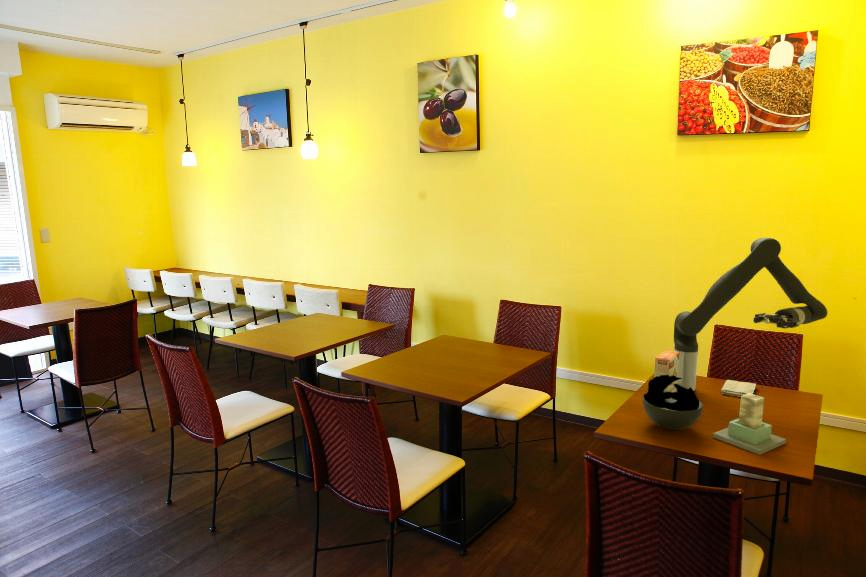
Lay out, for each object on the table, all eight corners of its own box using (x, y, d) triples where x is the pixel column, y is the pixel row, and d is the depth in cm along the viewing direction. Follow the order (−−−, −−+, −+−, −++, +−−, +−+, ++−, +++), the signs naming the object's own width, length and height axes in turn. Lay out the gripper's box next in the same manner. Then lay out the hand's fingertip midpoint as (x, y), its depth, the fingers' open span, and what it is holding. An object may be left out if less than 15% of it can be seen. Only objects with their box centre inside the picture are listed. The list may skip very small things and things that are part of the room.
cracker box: (667, 412, 219) (670, 359, 216) (650, 408, 223) (654, 357, 219) (676, 401, 230) (680, 351, 227) (661, 398, 234) (664, 349, 230)
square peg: (737, 435, 195) (741, 395, 193) (745, 431, 198) (749, 393, 195) (752, 440, 191) (755, 400, 189) (760, 436, 194) (764, 397, 191)
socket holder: (712, 437, 197) (714, 420, 196) (738, 427, 205) (740, 411, 204) (759, 455, 184) (761, 437, 183) (785, 443, 192) (787, 426, 191)
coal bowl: (651, 412, 219) (654, 365, 216) (707, 425, 207) (711, 376, 203) (632, 429, 204) (635, 378, 201) (691, 444, 191) (695, 391, 188)
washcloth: (720, 395, 238) (720, 388, 238) (725, 383, 253) (725, 377, 253) (752, 401, 232) (753, 394, 231) (755, 388, 247) (756, 381, 246)
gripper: (771, 305, 227) (748, 309, 219) (810, 311, 215) (786, 316, 207) (769, 323, 229) (746, 328, 220) (808, 330, 217) (784, 336, 208)
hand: (766, 322), depth 214 cm, fingers open, 8 cm apart
